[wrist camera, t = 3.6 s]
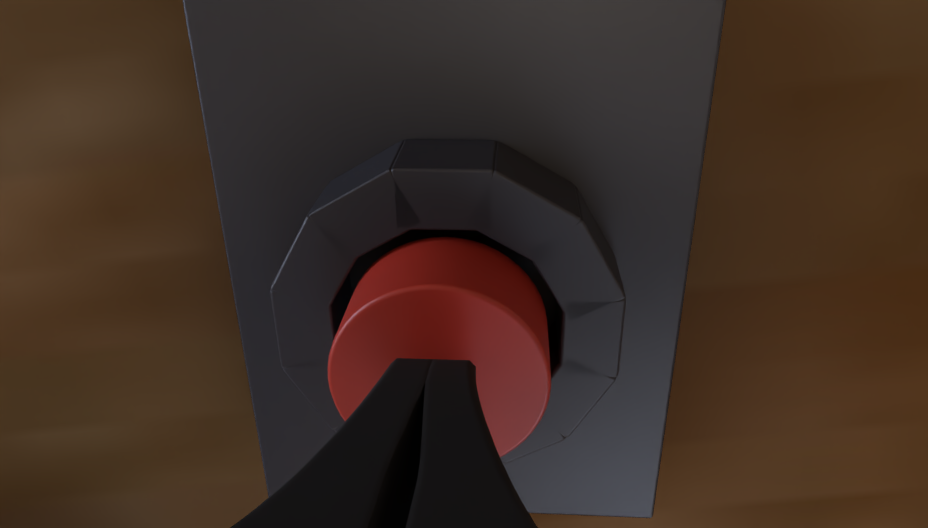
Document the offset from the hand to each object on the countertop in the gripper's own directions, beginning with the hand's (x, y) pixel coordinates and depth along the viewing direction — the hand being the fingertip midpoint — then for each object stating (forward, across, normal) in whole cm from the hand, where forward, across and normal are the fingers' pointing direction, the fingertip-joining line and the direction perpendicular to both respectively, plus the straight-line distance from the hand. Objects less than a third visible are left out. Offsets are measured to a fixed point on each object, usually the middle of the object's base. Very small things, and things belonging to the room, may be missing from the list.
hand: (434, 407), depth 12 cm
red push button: (+3, 0, 0) cm, 3 cm away
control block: (+6, 0, 0) cm, 6 cm away
